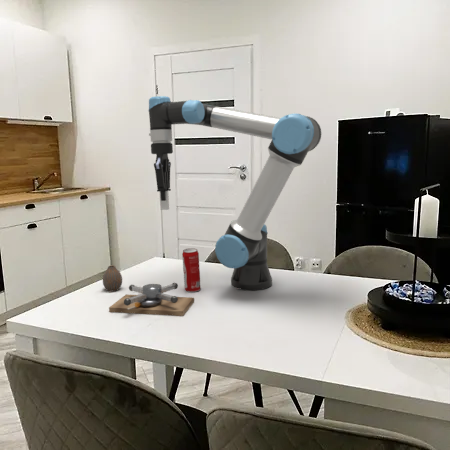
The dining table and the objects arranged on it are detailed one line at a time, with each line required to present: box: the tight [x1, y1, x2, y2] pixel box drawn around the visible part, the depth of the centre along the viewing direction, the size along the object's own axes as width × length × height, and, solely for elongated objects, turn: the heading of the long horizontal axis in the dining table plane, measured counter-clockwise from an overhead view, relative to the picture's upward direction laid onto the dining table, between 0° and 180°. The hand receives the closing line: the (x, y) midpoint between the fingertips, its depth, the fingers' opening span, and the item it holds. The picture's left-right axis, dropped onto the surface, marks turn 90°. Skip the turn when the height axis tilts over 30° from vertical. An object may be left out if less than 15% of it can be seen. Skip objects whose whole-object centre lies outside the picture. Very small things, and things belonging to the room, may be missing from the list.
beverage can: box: [181, 247, 202, 293], centre depth 161 cm, size 6×6×15 cm
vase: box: [102, 264, 123, 292], centre depth 164 cm, size 7×7×9 cm
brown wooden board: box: [108, 294, 195, 317], centre depth 145 cm, size 24×14×2 cm, turn 79°
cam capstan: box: [124, 282, 179, 307], centre depth 145 cm, size 22×22×5 cm
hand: (164, 209), depth 162 cm, fingers closed
